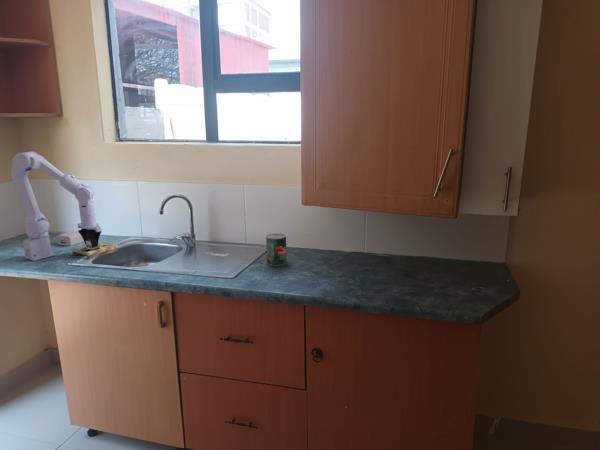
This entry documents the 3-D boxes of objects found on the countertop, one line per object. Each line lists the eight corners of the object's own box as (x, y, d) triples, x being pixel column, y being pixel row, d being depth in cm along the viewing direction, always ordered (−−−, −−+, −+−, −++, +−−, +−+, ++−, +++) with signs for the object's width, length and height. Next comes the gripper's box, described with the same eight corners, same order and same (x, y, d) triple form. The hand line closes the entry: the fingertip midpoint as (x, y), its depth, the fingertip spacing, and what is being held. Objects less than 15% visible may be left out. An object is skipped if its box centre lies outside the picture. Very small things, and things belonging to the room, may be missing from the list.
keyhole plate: (88, 259, 184) (88, 253, 183) (72, 254, 190) (72, 249, 190) (118, 250, 195) (118, 245, 194) (102, 247, 201) (102, 241, 201)
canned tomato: (284, 266, 170) (283, 238, 167) (264, 265, 171) (263, 238, 169) (288, 260, 177) (288, 233, 175) (269, 259, 179) (269, 233, 176)
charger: (97, 238, 217) (70, 246, 204) (83, 237, 221) (57, 244, 208) (96, 229, 216) (69, 236, 203) (82, 227, 220) (55, 235, 206)
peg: (90, 256, 188) (89, 242, 186) (83, 254, 191) (82, 240, 189) (102, 252, 192) (100, 239, 191) (94, 250, 195) (93, 237, 193)
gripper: (106, 215, 186) (110, 246, 190) (86, 211, 194) (90, 241, 198) (90, 218, 181) (94, 250, 184) (71, 214, 189) (75, 245, 192)
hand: (91, 245), depth 190 cm, fingers closed on peg, 4 cm apart
